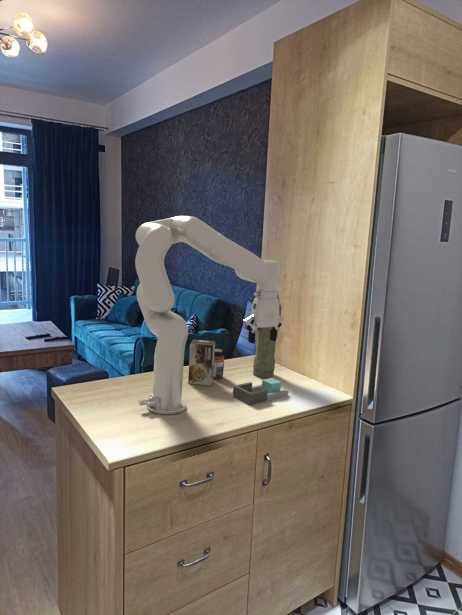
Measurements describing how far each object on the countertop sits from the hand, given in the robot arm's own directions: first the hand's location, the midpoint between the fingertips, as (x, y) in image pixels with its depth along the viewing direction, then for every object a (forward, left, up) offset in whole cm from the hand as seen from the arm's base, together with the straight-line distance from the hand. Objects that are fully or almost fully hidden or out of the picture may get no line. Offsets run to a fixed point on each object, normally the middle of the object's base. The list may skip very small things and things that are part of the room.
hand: (262, 341), depth 163 cm
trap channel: (0, -1, -20) cm, 20 cm away
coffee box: (-11, +21, -21) cm, 31 cm away
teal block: (+5, -1, -20) cm, 21 cm away
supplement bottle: (-2, +23, -21) cm, 30 cm away
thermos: (+18, +16, -21) cm, 31 cm away
